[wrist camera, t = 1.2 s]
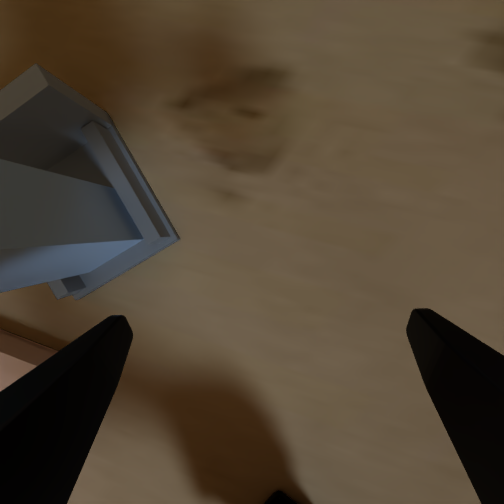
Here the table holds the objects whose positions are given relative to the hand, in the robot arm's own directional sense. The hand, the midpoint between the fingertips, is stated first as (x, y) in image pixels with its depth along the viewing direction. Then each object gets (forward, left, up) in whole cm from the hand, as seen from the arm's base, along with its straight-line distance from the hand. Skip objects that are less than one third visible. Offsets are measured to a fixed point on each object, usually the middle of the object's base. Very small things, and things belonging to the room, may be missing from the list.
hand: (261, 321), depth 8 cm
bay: (-6, +15, -14) cm, 22 cm away
